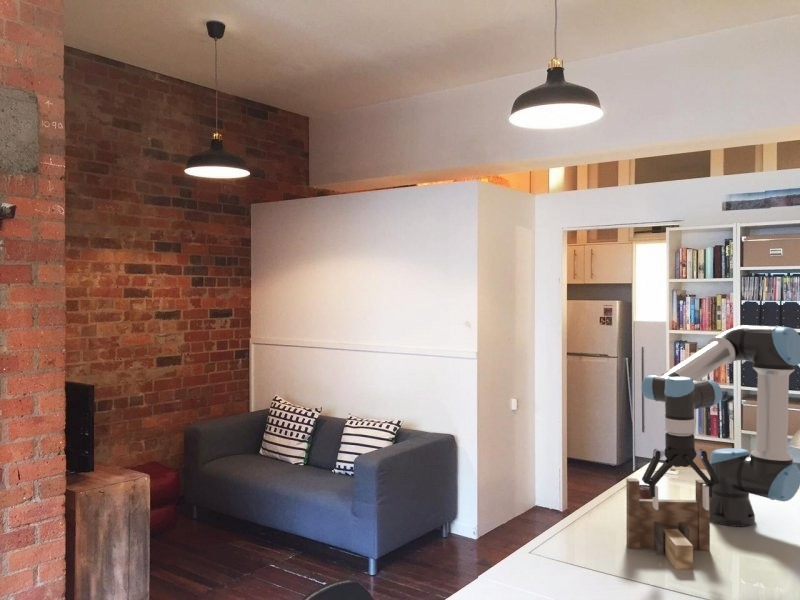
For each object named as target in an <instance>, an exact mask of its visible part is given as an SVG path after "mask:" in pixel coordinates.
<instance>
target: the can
mask: <svg viewBox="0 0 800 600" xmlns="http://www.w3.org/2000/svg"><path fill="white" fill-rule="evenodd" d="M639 499H653V497H651V496H650V495H649V484H639Z"/></svg>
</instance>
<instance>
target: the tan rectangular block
mask: <svg viewBox="0 0 800 600" xmlns="http://www.w3.org/2000/svg"><path fill="white" fill-rule="evenodd" d="M663 555H665V556H666V558H667V559H668V560H669V562H670V564H672V566H673V567H674V568H675V570H694V567H693V566H694V550H693V545H692V544H691V543H690V542H689V541H688V540H687V539H686V538H685V536H684V535H683V534H682V533H681V532H680V531H679V530H678V528H677V527H663Z"/></svg>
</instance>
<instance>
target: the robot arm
mask: <svg viewBox="0 0 800 600" xmlns="http://www.w3.org/2000/svg"><path fill="white" fill-rule="evenodd" d="M735 361H736V362H737V361H748V362H752V370H754V371H755V372H756V373H757V391H756V393H757V394H756V399H757V400H756V435H755V437H756V440H755V448H754V450H752V451H751V452H750V451H749V450H748V449H745V448H736V447H733V448H732V447H729V448H728V447H726V448H716V449H715V450H713V451H711V452H710V455H709V456H710V457H709V458H708V452H707V451H706V450H704V449H702V448H700V449H699V450H696V449H695V447H696V446H695V445H696V444H695V438H696V437H695V435H694V433H696V432H695V410H698V409H704V408H711V407H713V406H716V405H718V404H719V403H720V402H721V400H722V399H723V391H722V388H721V386H720V384H718V383H717V381H714V380H710V379H708V380H707V379H703V378H704V377H707V375H709V374H711V373H712V372H714V371H715V370H717V369H718V368H720V367H721V366H722V365H729V364H731V363H733V362H735ZM798 365H800V334H799V332H798V331H797V330H796V329H794V328H793V327H787V326H780V325H751V324H745V325H738V326H735V327H734V326H733V327H732V328H729V329H726V330H724V331H722V332H720V333H719V334H717V335H715V336H713V337H712V338H709V340H708V342H707V345H705V346H704V347H702V348H700V349H699V350H697V351H696V352H694V353H693V354H691V355H690V356H688V357H687V358H685V359H684V360H682V361H680V362H679V363H677V364H676V365H674V366H673V367H672V368H670V369H668V370H666V371H665V372H663V373H662V374H660V375H657V374H654V375H647V376H645V377H644V378H643V380H642V383H641V393H642V395H643V397H644V398H646V399H648V400H652V401H655V402H662V403H664V408H665V409H664V410H665V411H664V412H665V414H664V417H665V418H664V423H665V424H664V425H665V427H664V430H665V431H666V432H665V434H664V435H665V437H664V438H665V439H664V440H665V441H664V443H665V444H664V445H665V449H664V450H659V449H657V448H654V450H653V451H652V452H653V453H652V458H651V460H650V461H649V464H648V466H647V467H646V470H645V472H644V474H643V476H642V477H641V481H642V482H643V483H644V485H649V495H650V496H651V497H653V507H654V508H655V510H658V499H659V486H658V485H657V484H658V483H659V481H660V480H661V479H662V478H663V477H664V475H665V474H666V473H667V472H668V471H669V470H671V469H672V468H673V467H675V468H679V467H683V468H688V466H690V468H691V469H692V470H694V472H695V473H696V474H697V475H698V476H699V478H700V479H701V480H703V481H704V482H705V483H706V484H702V487H703V508H704V509H705V510H709V497H710V522H713V523H715V524H719V525H723V526H730V527H748V526H752V525H754V524H755V522H756V514H755V512H754V509H753V505H752V503H751V500H750V494H752V495H755V496H759V497H762V498H766V499H769V500H771V501H778V502H788V501H790V500H792V499H793V498H794V497H795V496H796V494H797V493H798V490H799V488H800V468H799V467H798V466H796V465H795V464H793V463H794V462H793V461H794V460H793V459H794V458H793V456H792V455H791V454H790V453H789V452H788V439H789V438H788V433H789V432H788V431H789V430H788V429H789V422H788V421H789V389H790V388H789V387H790V386H789V385H790V384H789V383H790V380H789V379H790V375H791V374H792V373H793V372H794V371H796V370H795V369H796V367H795V366H798ZM663 456H665V460H664V461H663V462H662V464H661V466H660V467H659V468H658V469H657V467H658V465H659V463H660V460H661V459H662V458H663ZM696 456H697V457H698V458H699V459H700V460H701V462H702V464H703V466H704V468H705V471H706V472H707V474H708V475H709V477H708V476H707V475H706V474H705V473H704V472H703V470H701V469H700V468H699V466H698V465H697V464H696V463H695V462H694V459H695V458H696ZM656 469H657V470H656Z"/></svg>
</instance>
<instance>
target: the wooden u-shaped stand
mask: <svg viewBox="0 0 800 600" xmlns="http://www.w3.org/2000/svg"><path fill="white" fill-rule="evenodd" d="M625 481H626V482H625V483H626V484H625V485H626V486H625V487H626V491H625V492H626V498H625V499H626V546H627V548H628V549H629V550H630V549H631V550H633V549H634V550H640V549H650V550H651V549H653V550H655V552H656V553H657V555H658V556H664V553H663V527H677V528H678V530H679V531H680V532H681V533H682V534H683V535H684V536H685V538H686V539H687V540H688V541H689V542H690V543H691V544H692V545H693V551H695V550H696V551H702V552H703V551H704V552H705V551H706V552H710V551H711V532H710V531H711V521H710V497H709V510H705V509H704V508H703V487H702V484H706V483H705V482H704V481H703V479H695V499H659V498H658V510H655V508H654V507H653V499H639V485H640V480H639V479H638V478H631V477H629V478H626V480H625Z"/></svg>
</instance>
